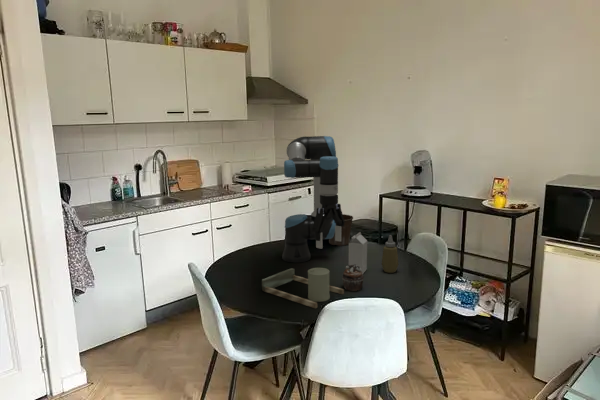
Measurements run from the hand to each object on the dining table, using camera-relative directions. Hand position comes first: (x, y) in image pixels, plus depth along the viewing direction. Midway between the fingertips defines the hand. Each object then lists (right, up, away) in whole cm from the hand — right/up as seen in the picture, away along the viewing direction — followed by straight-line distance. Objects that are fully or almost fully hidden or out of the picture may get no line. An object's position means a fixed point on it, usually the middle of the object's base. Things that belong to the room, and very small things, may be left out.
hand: (329, 244), depth 189 cm
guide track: (-11, -21, +6) cm, 25 cm away
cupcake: (+11, -20, +11) cm, 26 cm away
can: (-4, -22, +1) cm, 23 cm away
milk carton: (+16, -16, +31) cm, 39 cm away
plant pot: (+11, -7, +81) cm, 82 cm away
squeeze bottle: (+32, -16, +31) cm, 47 cm away
